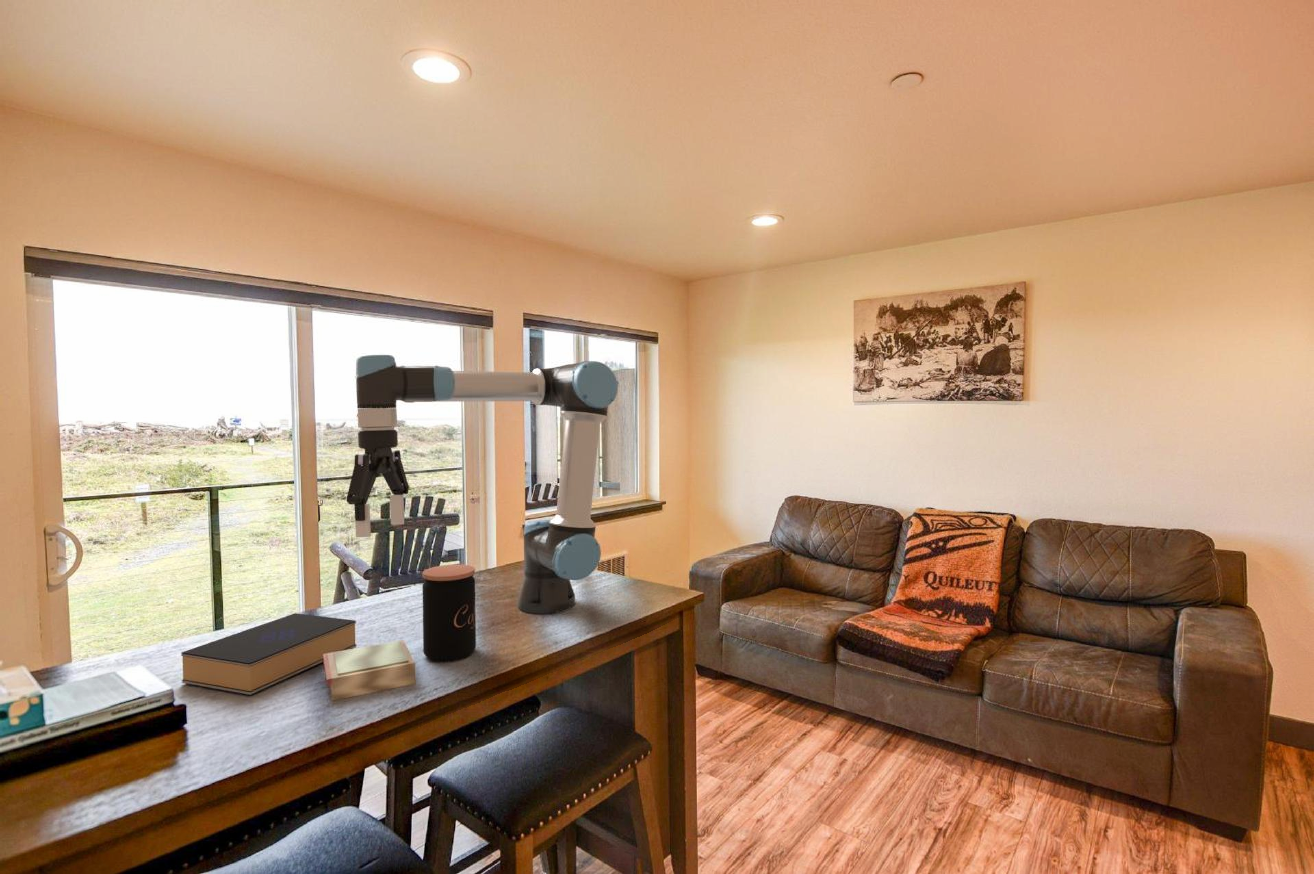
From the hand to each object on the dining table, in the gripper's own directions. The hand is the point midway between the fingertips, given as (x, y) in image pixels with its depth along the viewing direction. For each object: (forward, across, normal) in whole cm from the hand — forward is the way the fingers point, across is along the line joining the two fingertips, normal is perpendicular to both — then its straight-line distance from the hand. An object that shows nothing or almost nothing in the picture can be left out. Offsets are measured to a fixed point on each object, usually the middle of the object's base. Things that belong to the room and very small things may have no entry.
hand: (381, 530), depth 131 cm
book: (+27, +7, -20) cm, 34 cm away
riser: (+27, +11, +3) cm, 29 cm away
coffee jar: (+27, -2, +13) cm, 30 cm away
